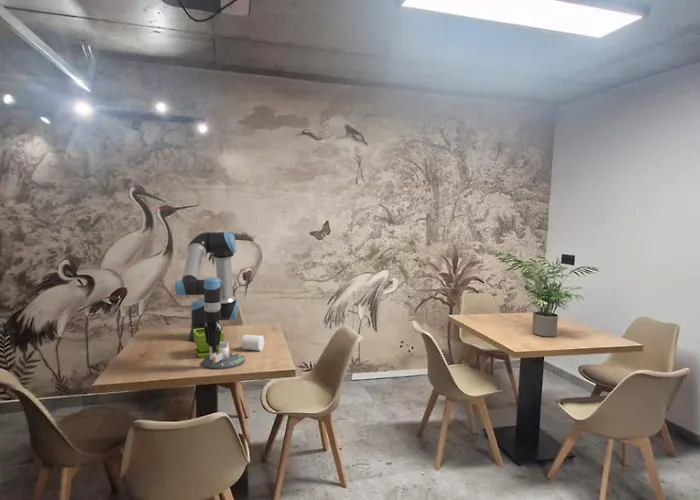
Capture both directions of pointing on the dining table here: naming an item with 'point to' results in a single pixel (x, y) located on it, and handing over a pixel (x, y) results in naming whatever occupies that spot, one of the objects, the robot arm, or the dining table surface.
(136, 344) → the dining table surface
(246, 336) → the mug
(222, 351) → the white lumpy piece
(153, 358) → the dining table surface
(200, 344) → the flower pot
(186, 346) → the dining table surface
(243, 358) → the dial
